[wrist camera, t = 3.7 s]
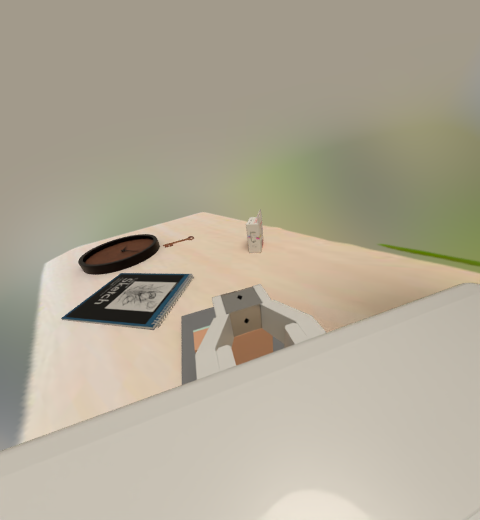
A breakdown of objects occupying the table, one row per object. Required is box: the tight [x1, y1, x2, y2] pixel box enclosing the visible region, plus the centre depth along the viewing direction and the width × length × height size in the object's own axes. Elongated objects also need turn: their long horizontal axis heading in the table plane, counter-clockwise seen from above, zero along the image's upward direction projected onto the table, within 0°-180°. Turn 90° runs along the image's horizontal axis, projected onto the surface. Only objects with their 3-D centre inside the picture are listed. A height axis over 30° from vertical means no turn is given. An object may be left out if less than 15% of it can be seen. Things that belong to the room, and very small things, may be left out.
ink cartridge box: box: [246, 210, 263, 253], centre depth 69 cm, size 9×5×15 cm, turn 167°
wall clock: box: [78, 234, 160, 275], centre depth 82 cm, size 31×4×31 cm
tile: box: [193, 326, 273, 365], centre depth 27 cm, size 10×3×13 cm, turn 107°
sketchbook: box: [61, 273, 194, 330], centre depth 54 cm, size 22×30×2 cm
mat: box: [182, 307, 285, 385], centre depth 37 cm, size 20×22×1 cm
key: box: [163, 236, 194, 248], centre depth 88 cm, size 6×1×15 cm
